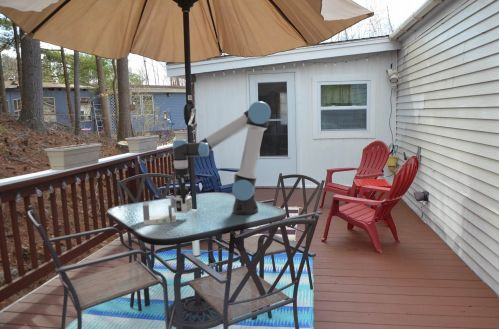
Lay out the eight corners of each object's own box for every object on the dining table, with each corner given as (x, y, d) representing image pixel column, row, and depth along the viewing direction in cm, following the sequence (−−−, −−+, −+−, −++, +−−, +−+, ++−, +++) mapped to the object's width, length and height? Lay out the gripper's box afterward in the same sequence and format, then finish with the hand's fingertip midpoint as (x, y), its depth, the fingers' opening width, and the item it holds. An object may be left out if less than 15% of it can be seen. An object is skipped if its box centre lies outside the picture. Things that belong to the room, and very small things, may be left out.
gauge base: (175, 217, 215) (174, 199, 214) (176, 221, 206) (175, 203, 205) (144, 220, 211) (142, 202, 209) (144, 225, 202) (142, 205, 201)
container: (187, 212, 207) (186, 189, 205) (174, 212, 208) (172, 189, 207) (192, 209, 214) (191, 187, 213) (179, 209, 216) (178, 186, 214)
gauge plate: (174, 216, 215) (172, 195, 213) (175, 220, 205) (174, 199, 204) (168, 216, 214) (167, 195, 212) (169, 221, 204) (168, 199, 203)
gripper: (172, 165, 218) (175, 203, 221) (175, 170, 196) (177, 212, 199) (185, 165, 220) (187, 202, 223) (189, 169, 198) (192, 211, 201)
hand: (183, 207), depth 211 cm, fingers closed on container, 10 cm apart
